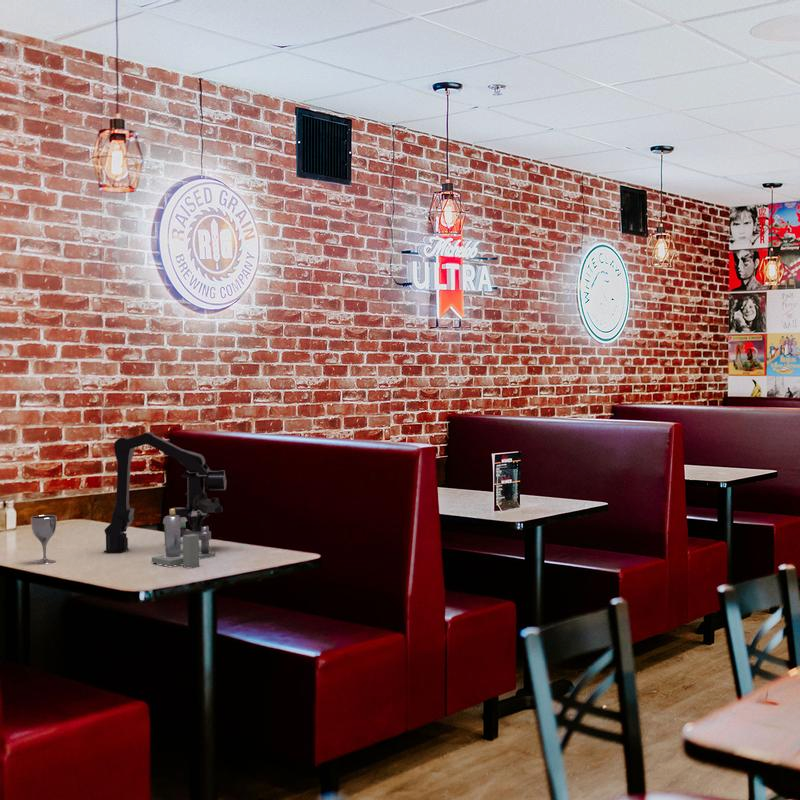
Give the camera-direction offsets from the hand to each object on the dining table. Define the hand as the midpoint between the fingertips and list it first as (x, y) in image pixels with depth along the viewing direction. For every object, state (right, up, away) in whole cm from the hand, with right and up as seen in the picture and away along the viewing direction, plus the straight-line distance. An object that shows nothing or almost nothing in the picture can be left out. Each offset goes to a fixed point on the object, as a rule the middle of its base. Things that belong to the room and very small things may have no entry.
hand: (196, 535), depth 347 cm
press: (+3, -6, -21) cm, 22 cm away
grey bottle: (-3, -4, -23) cm, 23 cm away
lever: (+1, -4, -7) cm, 8 cm away
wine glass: (-46, -7, -19) cm, 50 cm away
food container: (-10, -5, +16) cm, 20 cm away
